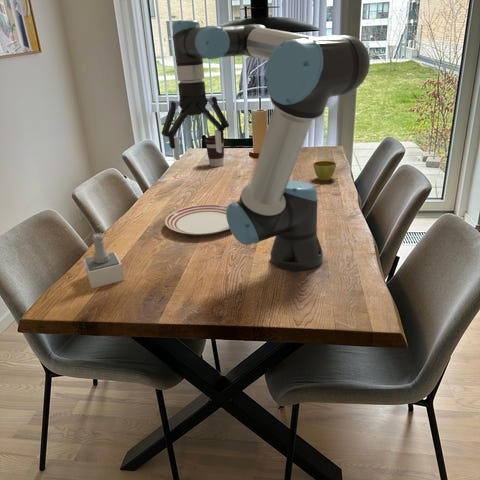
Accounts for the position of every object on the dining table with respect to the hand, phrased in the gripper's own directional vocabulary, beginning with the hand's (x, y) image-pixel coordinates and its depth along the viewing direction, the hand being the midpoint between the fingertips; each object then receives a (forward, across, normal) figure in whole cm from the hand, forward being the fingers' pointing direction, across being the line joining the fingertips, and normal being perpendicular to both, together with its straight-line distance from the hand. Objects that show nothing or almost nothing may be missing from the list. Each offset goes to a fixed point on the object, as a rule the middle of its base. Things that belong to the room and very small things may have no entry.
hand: (198, 155), depth 138 cm
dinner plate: (+29, -5, -15) cm, 33 cm away
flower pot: (+29, -71, -36) cm, 85 cm away
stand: (+29, +34, +7) cm, 45 cm away
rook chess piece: (+24, +34, +7) cm, 42 cm away
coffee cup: (+29, -41, -90) cm, 103 cm away
